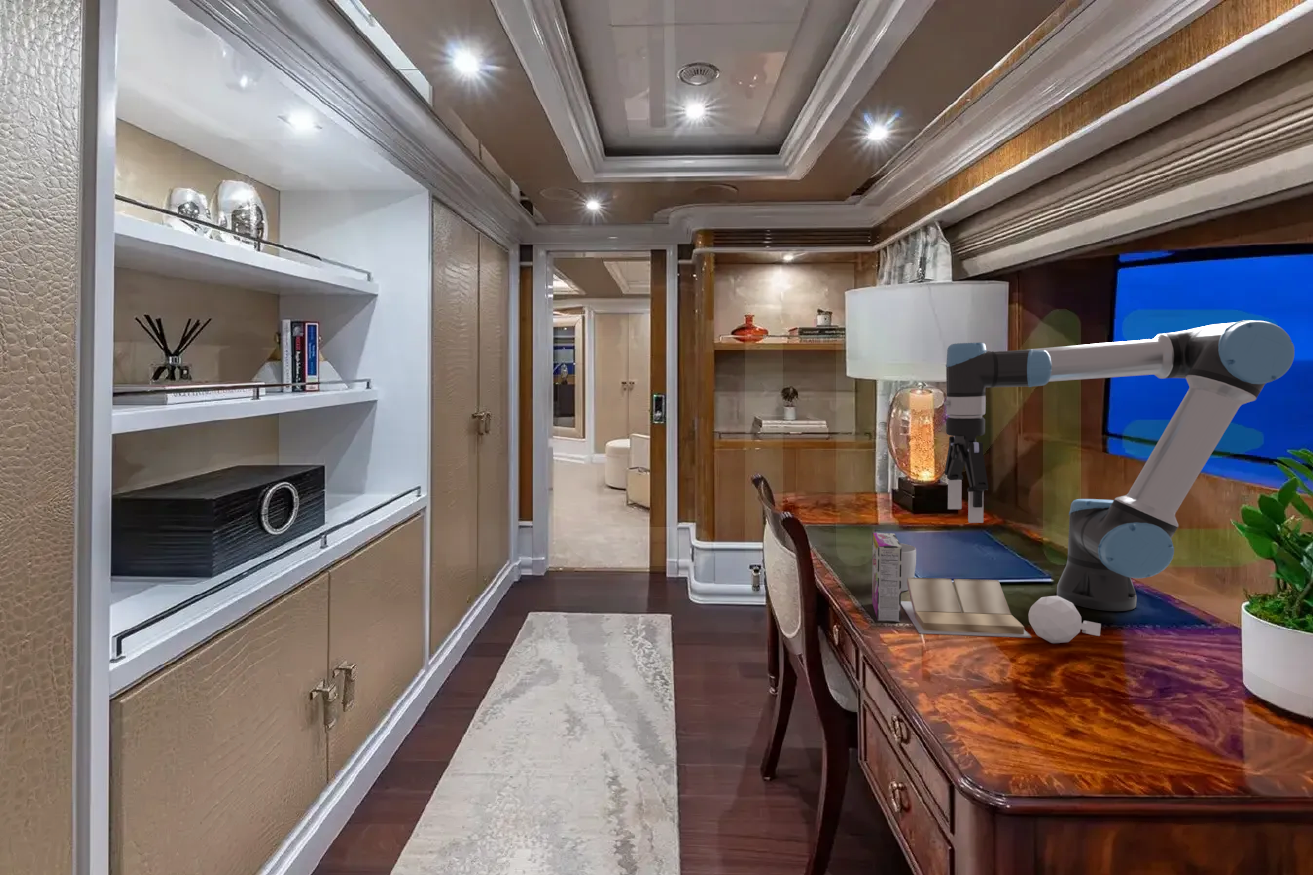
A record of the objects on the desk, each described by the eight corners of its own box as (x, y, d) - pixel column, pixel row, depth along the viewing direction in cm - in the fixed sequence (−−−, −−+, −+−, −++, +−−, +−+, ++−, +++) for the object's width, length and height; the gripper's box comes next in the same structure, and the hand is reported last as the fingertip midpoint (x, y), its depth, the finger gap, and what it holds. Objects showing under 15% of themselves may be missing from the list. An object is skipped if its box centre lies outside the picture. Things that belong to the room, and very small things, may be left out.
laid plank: (1010, 621, 141) (1011, 614, 141) (1023, 633, 135) (1024, 626, 135) (915, 617, 144) (915, 611, 144) (923, 630, 137) (923, 622, 137)
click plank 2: (996, 584, 149) (998, 580, 148) (1009, 618, 142) (1010, 613, 141) (952, 583, 150) (954, 578, 150) (962, 616, 143) (964, 612, 142)
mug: (909, 596, 158) (910, 554, 157) (870, 589, 163) (871, 548, 162) (923, 581, 169) (924, 542, 167) (886, 575, 174) (887, 537, 173)
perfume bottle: (1031, 639, 128) (1103, 654, 125) (1036, 590, 130) (1108, 604, 126) (1020, 636, 136) (1088, 650, 133) (1025, 590, 138) (1093, 603, 134)
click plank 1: (949, 583, 150) (951, 578, 150) (959, 616, 143) (961, 612, 143) (906, 581, 152) (907, 577, 151) (914, 614, 145) (915, 610, 144)
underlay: (997, 605, 151) (997, 604, 151) (1031, 637, 134) (1031, 636, 134) (899, 602, 154) (899, 601, 154) (919, 633, 136) (919, 631, 136)
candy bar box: (870, 603, 154) (871, 532, 152) (893, 604, 153) (895, 532, 151) (875, 621, 143) (877, 545, 141) (901, 623, 142) (903, 546, 140)
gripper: (930, 413, 157) (930, 504, 159) (966, 421, 132) (965, 529, 134) (964, 412, 156) (963, 503, 158) (1007, 420, 131) (1006, 528, 133)
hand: (964, 515), depth 146 cm, fingers open, 13 cm apart
